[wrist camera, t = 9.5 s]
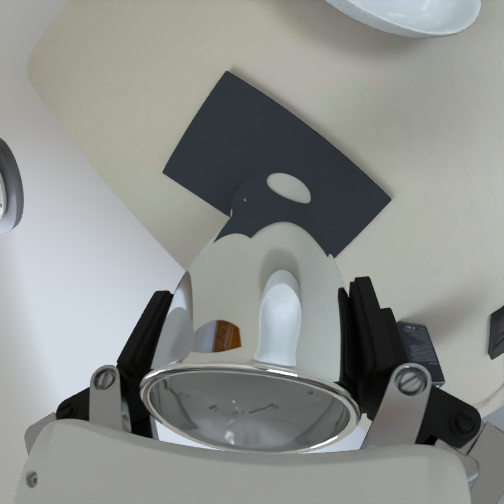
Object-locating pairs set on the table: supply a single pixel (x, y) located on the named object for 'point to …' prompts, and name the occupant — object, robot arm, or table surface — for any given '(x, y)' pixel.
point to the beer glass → (259, 333)
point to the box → (421, 350)
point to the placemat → (271, 160)
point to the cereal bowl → (413, 15)
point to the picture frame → (496, 334)
